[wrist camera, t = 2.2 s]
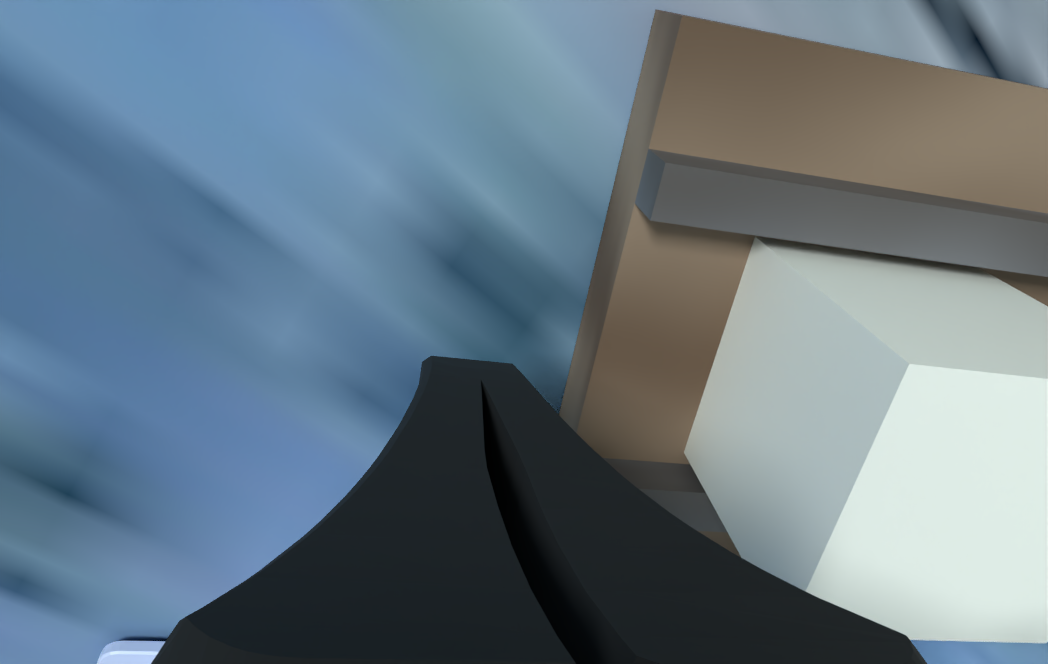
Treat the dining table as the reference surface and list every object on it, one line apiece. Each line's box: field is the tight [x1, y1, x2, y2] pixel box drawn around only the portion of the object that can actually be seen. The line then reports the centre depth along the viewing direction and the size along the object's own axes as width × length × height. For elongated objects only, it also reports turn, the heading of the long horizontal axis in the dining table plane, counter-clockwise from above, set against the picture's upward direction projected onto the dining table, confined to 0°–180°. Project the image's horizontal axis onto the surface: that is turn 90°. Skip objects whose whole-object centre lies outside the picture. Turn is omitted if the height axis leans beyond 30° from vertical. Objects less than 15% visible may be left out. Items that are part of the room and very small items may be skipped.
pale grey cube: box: [684, 237, 1048, 643], centre depth 14 cm, size 5×5×5 cm
